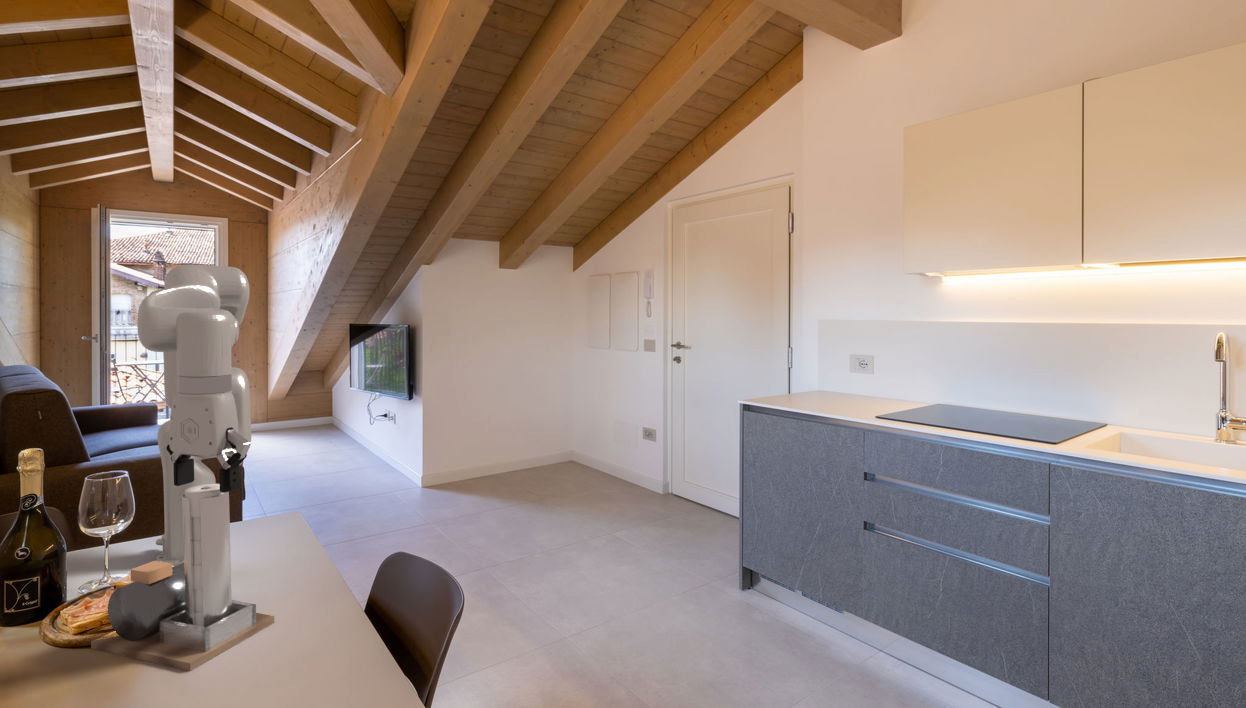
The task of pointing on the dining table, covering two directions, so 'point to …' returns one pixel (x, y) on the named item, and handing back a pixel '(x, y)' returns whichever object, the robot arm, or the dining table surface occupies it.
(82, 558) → the dining table surface
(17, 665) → the dining table surface
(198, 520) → the silver tall cylinder
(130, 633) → the motor mount
